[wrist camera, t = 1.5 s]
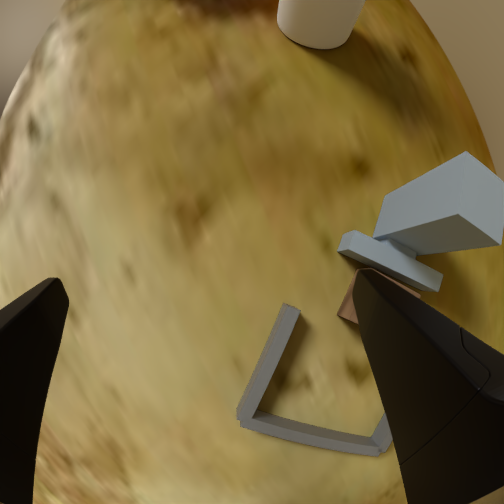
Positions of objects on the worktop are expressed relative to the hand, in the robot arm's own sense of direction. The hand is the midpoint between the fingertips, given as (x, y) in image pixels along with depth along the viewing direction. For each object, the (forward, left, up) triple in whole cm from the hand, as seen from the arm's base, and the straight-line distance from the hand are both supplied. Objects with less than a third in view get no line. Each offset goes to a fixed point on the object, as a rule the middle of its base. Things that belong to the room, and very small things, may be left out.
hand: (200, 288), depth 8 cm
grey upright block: (-4, -14, -14) cm, 20 cm away
